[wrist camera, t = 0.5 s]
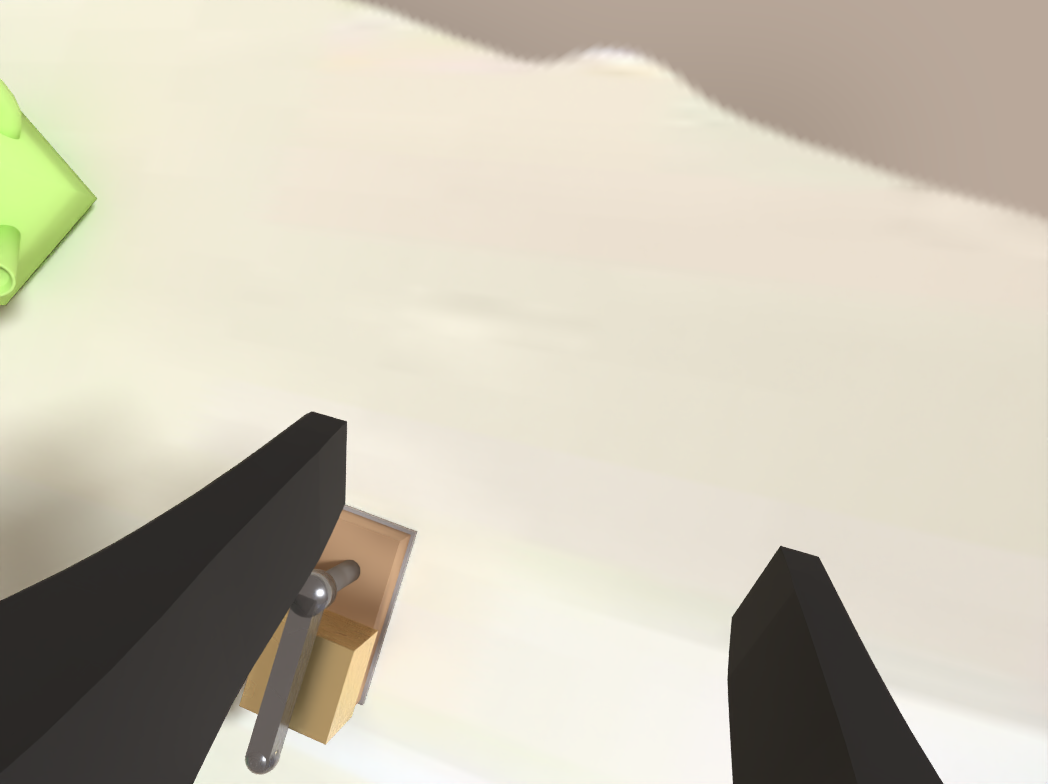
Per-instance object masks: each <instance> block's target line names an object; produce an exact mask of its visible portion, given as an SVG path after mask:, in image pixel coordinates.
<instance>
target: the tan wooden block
mask: <svg viewBox="0 0 1048 784" xmlns="http://www.w3.org/2000/svg"><path fill="white" fill-rule="evenodd" d="M289 609H290V608H289ZM288 613H289V610H288V612H287V613H286V615H285V617H284V618H283V620H282V621H281V623H280V625H279V626H278V628H277V629H276V631H275V633H274V634H273V636H272V638H271V639H270V641H269V642H268V644H267V646H266V647H265V649H264V651H263V652H262V654H261V655H260V657H259V659H258V660H257V662H256V663H255V665H254V667H253V668H252V670H251V672H250V673H249V675H248V678H247V682H246V685H245V688H244V692H243V695H242V698H241V702H240V705H239V706H240V707H243V708H245V709H247V710H249V711H252V712H254V713H256V714H258V713H259V709H260V706H261V703H262V699H263V696H264V693H265V689H266V686H267V683H268V679H269V676H270V673H271V669H272V666H273V663H274V659H275V656H276V653H277V649H278V646H279V643H280V639H281V636H282V633H283V629H284V626H285V623H286V619H287V616H288ZM377 633H378V630H376V629H373V628H371V627H368V626H366V625H363V624H361V623H358V622H356V621H354V620H351V619H349V618H346V617H344V616H341V615H339V614H336V613H334V612H331V611H329V610H327V609H325V610H324V611H323V615H322V618H321V621H320V625H319V628H318V631H317V635H316V638H315V641H314V644H313V648H312V651H311V654H310V658H309V661H308V664H307V668H306V671H305V674H304V677H303V681H302V684H301V687H300V691H299V694H298V697H297V701H296V704H295V707H294V710H293V714H292V717H291V720H290V724H289V727H288V728H290V729H292V730H294V731H296V732H298V733H301V734H303V735H305V736H307V737H310V738H312V739H314V740H316V741H319V742H321V743H323V744H325V745H326V744H327V743H328V741H329V740H330V739H331V738H332V737H333V736H334V735H335V734H336V733H337V732H338V731H339V730H340V729H341V728H342V726H343V725H344V724H345V723H346V722H347V721H348V720H349V719H350V718H351V717H352V714H353V711H354V707H355V704H356V701H357V698H358V694H359V691H360V688H361V685H362V681H363V678H364V675H365V672H366V668H367V665H368V662H369V659H370V655H371V652H372V649H373V646H374V642H375V639H376V636H377Z"/></svg>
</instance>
